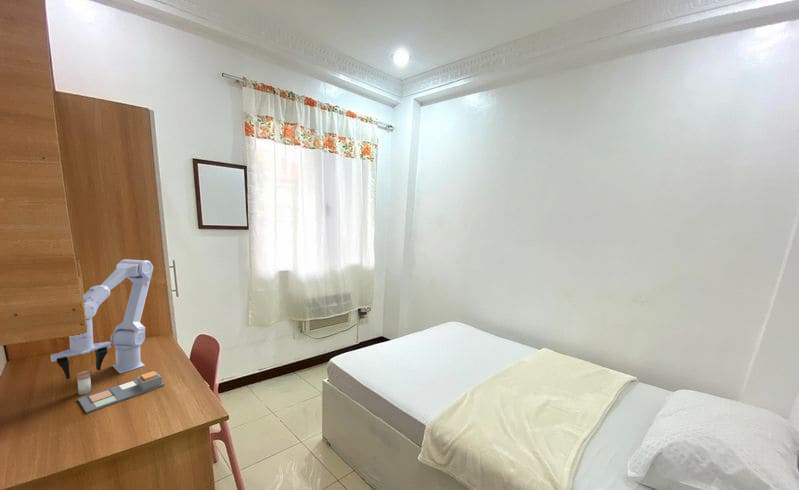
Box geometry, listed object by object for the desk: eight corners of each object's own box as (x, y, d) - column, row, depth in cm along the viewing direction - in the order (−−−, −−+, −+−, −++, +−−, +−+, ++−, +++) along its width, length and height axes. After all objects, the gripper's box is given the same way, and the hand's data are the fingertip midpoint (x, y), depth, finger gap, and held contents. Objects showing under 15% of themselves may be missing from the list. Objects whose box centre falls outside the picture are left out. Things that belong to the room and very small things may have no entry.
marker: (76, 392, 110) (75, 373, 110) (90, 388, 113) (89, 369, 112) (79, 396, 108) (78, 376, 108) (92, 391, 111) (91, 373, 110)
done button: (141, 381, 116) (140, 375, 115) (153, 377, 119) (153, 371, 118) (144, 384, 113) (144, 378, 113) (157, 380, 117) (157, 374, 116)
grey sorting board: (77, 400, 106) (77, 390, 106) (153, 375, 123) (153, 366, 123) (86, 413, 100) (85, 403, 100) (164, 385, 117) (164, 376, 117)
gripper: (52, 346, 100) (55, 386, 102) (112, 333, 112) (114, 369, 114) (48, 340, 104) (51, 378, 106) (106, 328, 116) (108, 363, 118)
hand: (83, 373), depth 110 cm, fingers open, 7 cm apart
